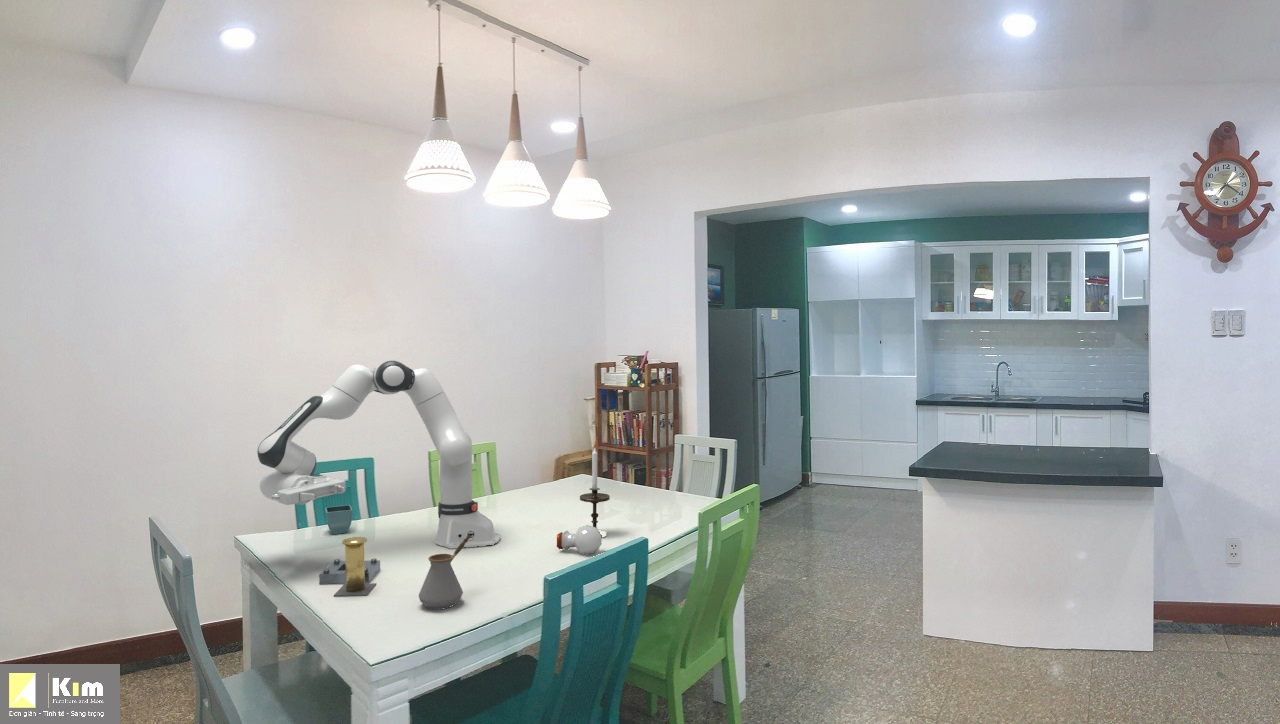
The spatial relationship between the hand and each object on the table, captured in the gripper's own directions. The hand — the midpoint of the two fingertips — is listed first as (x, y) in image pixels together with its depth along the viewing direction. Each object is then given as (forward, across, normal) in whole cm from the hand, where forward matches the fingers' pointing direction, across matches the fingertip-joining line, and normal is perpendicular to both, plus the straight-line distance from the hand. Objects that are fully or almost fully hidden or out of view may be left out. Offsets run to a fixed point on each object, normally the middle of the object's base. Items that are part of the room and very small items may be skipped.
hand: (329, 493), depth 214 cm
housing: (+6, +2, +25) cm, 26 cm away
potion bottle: (+51, +56, +28) cm, 81 cm away
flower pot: (-40, +33, +25) cm, 57 cm away
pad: (+17, -5, +25) cm, 31 cm away
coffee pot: (+44, +4, +26) cm, 52 cm away
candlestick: (+44, +77, +28) cm, 93 cm away
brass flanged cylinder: (+17, -5, +25) cm, 30 cm away
